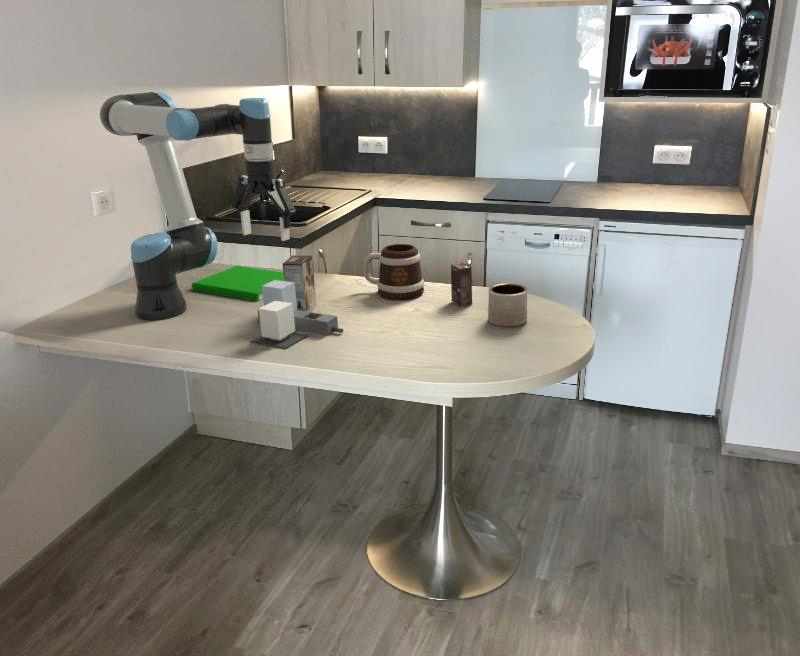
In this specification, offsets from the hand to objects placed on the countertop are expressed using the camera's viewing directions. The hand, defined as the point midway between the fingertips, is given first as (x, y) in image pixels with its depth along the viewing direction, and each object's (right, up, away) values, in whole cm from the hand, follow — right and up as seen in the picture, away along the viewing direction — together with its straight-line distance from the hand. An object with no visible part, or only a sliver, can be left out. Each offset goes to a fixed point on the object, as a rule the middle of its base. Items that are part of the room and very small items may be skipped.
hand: (266, 237), depth 199 cm
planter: (+67, -23, +4) cm, 72 cm away
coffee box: (+8, -20, +19) cm, 28 cm away
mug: (+35, -14, +31) cm, 49 cm away
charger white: (+4, -28, -3) cm, 28 cm away
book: (-15, -12, +44) cm, 48 cm away
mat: (+4, -28, -3) cm, 29 cm away
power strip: (+9, -25, +5) cm, 27 cm away
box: (+56, -18, +19) cm, 62 cm away
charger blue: (+3, -22, +7) cm, 23 cm away
